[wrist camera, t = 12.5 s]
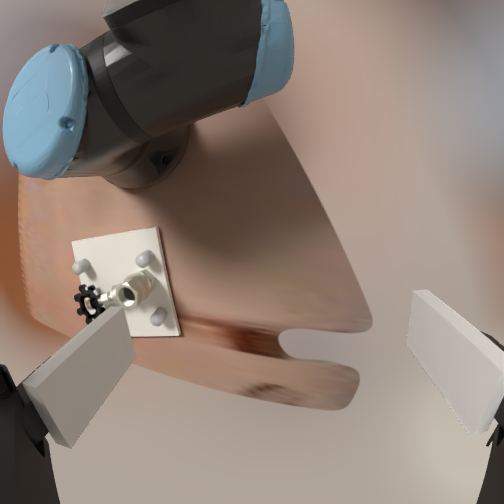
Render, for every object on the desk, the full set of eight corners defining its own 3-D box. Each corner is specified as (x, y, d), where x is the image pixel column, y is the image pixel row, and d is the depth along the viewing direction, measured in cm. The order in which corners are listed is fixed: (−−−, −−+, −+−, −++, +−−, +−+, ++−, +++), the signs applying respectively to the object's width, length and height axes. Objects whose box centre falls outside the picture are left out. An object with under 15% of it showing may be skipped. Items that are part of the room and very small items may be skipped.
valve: (147, 255, 41) (90, 279, 42) (127, 268, 34) (67, 293, 36) (165, 296, 42) (107, 315, 44) (149, 315, 36) (87, 333, 37)
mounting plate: (74, 240, 42) (62, 245, 39) (158, 226, 41) (149, 230, 37) (100, 333, 46) (90, 342, 42) (180, 332, 44) (174, 343, 41)
